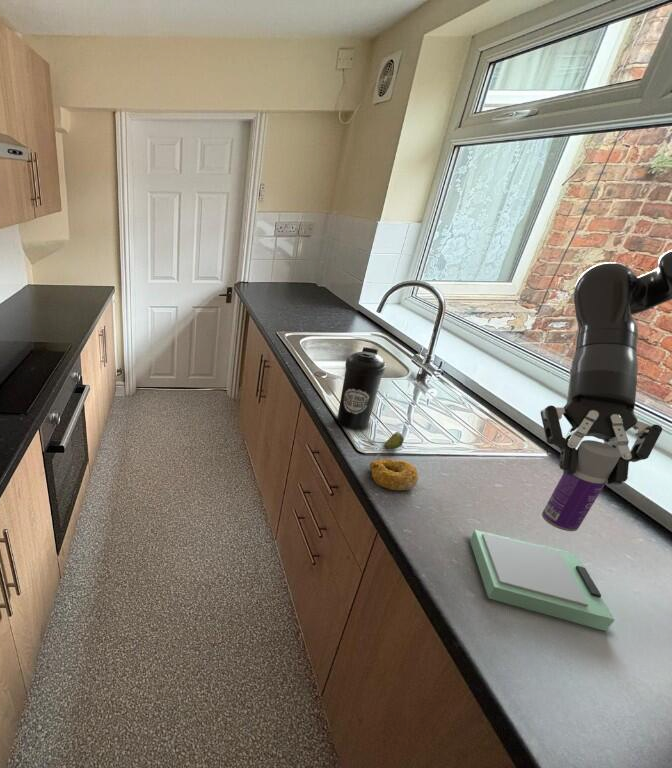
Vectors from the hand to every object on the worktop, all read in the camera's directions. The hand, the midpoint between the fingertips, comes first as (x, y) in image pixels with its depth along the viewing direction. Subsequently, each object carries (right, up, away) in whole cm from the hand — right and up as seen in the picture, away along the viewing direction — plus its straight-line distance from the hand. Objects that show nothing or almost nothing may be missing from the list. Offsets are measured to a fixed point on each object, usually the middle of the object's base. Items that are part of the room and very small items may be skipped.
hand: (591, 478), depth 64 cm
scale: (+1, -22, +12) cm, 25 cm away
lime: (-3, -3, +50) cm, 50 cm away
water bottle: (-9, +3, +61) cm, 62 cm away
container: (+1, -9, +6) cm, 11 cm away
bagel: (-10, -9, +38) cm, 40 cm away
